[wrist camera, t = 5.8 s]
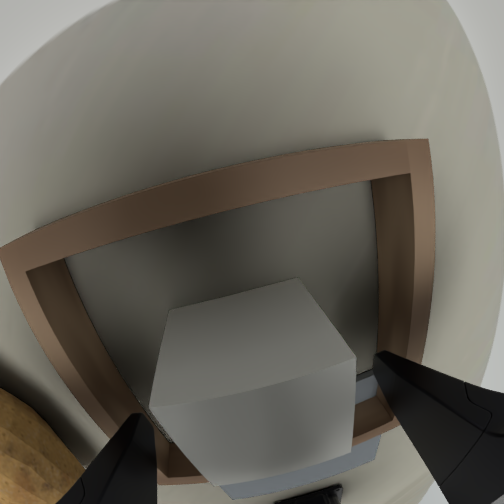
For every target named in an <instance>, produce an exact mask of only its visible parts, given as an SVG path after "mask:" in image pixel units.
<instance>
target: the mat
mask: <svg viewBox="0 0 504 504" xmlns="http://www.w3.org/2000/svg"><path fill="white" fill-rule="evenodd" d="M377 386H378V382H377V380H376V378H375V376H374V374H373V369H372V370H370V371H367V372H365V373H363V374H360V375H358V376H356V393H355V404H358V403H360V402H363V401H365V400H367V399H370V398H372V397H374V396H376V394H377ZM380 437H381V434H380V435H378V436H376V437H374V438H372V439H369V440H367V441H365V442H362V443H360V444H358V445H355V446H353V447H351V452H350V453H347V454H345V455H342V456H340V457H337V458H334V459H331V460H328V461H325V462H322V463H319V464H316V465H313V466H310V467H306V468H303V469H300V470H296V471H292V472H288V473H285V474H280V475H276V476H272V477H267V478H263V479H258V480H253V481H247V482H241V483H235V484H228V485H220V487H221V488H222V489H223V490H224V492H225V493H226V494H227V495H228V496H229V497H230V498H231V499H232V500H235V499H242V498H248V497H254V496H260V495H265V494H270V493H274V492H279V491H283V490H287V489H291V488H295V487H299V486H302V485H306V484H309V483H313V482H316V481H319V480H322V479H325V478H328V477H331V476H334V475H337V474H340V473H342V472H345V471H348V470H350V469H353V468H355V467H358V466H360V465H362V464H365V463H367V462H369V461H372V460H374V459H375V456H376V452H377V449H378V445H379V441H380Z"/></svg>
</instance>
